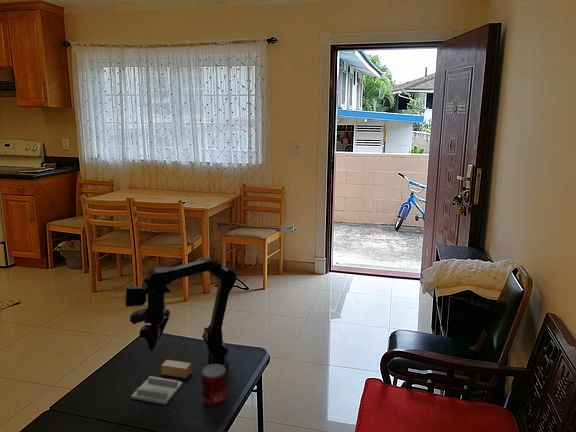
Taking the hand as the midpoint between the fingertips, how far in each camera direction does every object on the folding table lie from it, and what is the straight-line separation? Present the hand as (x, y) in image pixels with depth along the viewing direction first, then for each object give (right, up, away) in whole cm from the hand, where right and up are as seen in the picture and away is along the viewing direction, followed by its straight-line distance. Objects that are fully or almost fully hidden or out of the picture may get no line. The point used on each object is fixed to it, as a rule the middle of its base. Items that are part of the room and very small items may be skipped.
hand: (154, 344), depth 163 cm
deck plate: (+2, -15, -5) cm, 16 cm away
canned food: (+23, -16, -9) cm, 29 cm away
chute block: (+6, -13, +6) cm, 15 cm away
